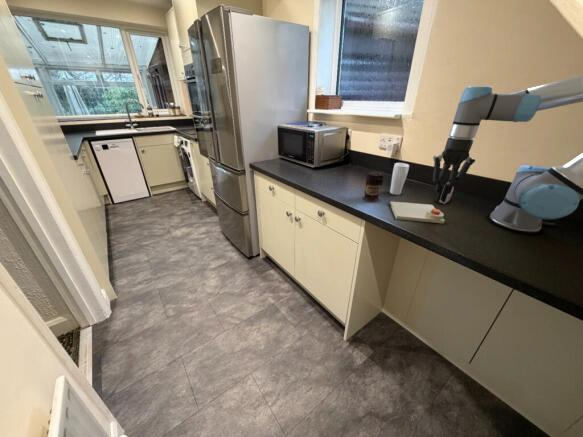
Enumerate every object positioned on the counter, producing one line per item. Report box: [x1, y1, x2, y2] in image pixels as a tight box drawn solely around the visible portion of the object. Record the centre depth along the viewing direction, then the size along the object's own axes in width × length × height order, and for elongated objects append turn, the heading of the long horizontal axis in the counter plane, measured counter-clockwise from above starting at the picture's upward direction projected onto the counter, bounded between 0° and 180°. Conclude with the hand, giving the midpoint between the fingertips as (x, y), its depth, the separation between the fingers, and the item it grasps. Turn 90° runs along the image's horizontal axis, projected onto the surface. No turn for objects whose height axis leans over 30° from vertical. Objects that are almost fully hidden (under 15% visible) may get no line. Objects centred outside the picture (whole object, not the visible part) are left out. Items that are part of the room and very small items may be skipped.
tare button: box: [431, 208, 441, 215], centre depth 93 cm, size 3×3×2 cm
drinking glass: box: [389, 162, 410, 196], centre depth 116 cm, size 7×7×15 cm
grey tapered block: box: [438, 181, 455, 204], centre depth 109 cm, size 4×7×10 cm, turn 132°
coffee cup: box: [363, 171, 386, 203], centre depth 109 cm, size 9×8×13 cm
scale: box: [389, 201, 446, 224], centre depth 99 cm, size 18×15×3 cm
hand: (439, 200), depth 91 cm, fingers closed
